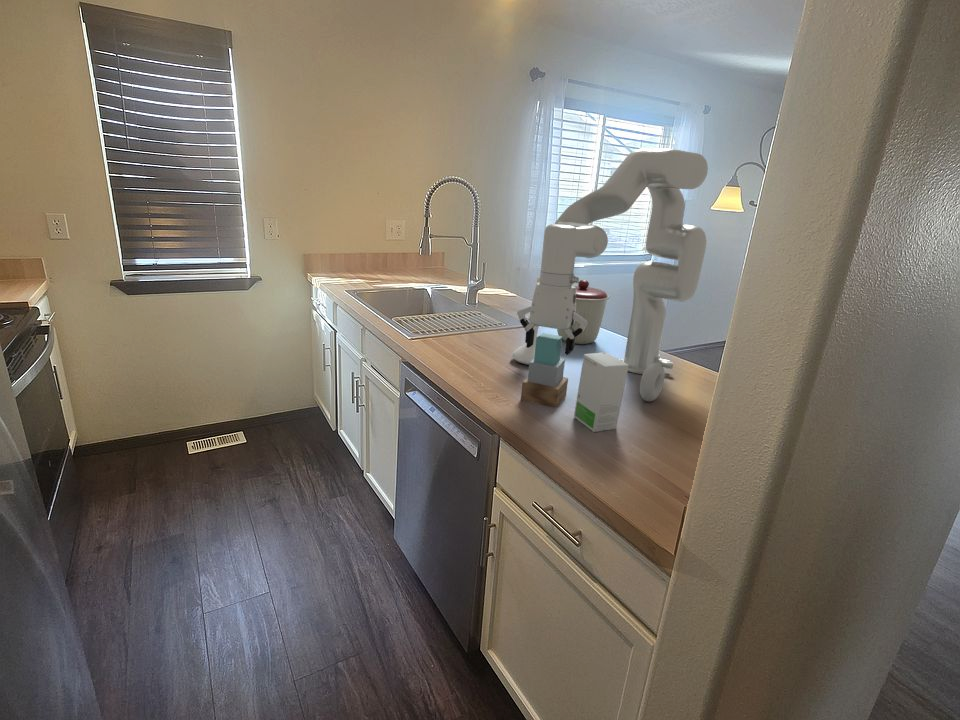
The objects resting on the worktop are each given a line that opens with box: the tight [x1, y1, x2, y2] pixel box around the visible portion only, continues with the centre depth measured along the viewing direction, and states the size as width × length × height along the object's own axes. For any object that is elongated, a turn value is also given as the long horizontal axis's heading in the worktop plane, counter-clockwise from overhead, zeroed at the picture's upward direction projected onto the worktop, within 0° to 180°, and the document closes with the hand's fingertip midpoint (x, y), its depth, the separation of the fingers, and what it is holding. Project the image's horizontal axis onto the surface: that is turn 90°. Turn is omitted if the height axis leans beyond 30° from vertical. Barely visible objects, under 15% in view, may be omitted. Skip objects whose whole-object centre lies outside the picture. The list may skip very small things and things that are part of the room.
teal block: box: [534, 332, 563, 365], centre depth 125 cm, size 5×5×6 cm
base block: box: [520, 376, 569, 409], centre depth 129 cm, size 9×9×5 cm
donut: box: [639, 363, 666, 402], centre depth 130 cm, size 10×3×10 cm, turn 141°
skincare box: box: [573, 351, 629, 433], centre depth 114 cm, size 8×7×16 cm
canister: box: [556, 279, 610, 345], centre depth 177 cm, size 18×18×21 cm
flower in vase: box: [511, 277, 540, 366], centre depth 152 cm, size 13×11×25 cm
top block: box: [527, 358, 566, 387], centre depth 127 cm, size 7×7×5 cm
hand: (548, 349), depth 125 cm, fingers open, 9 cm apart
